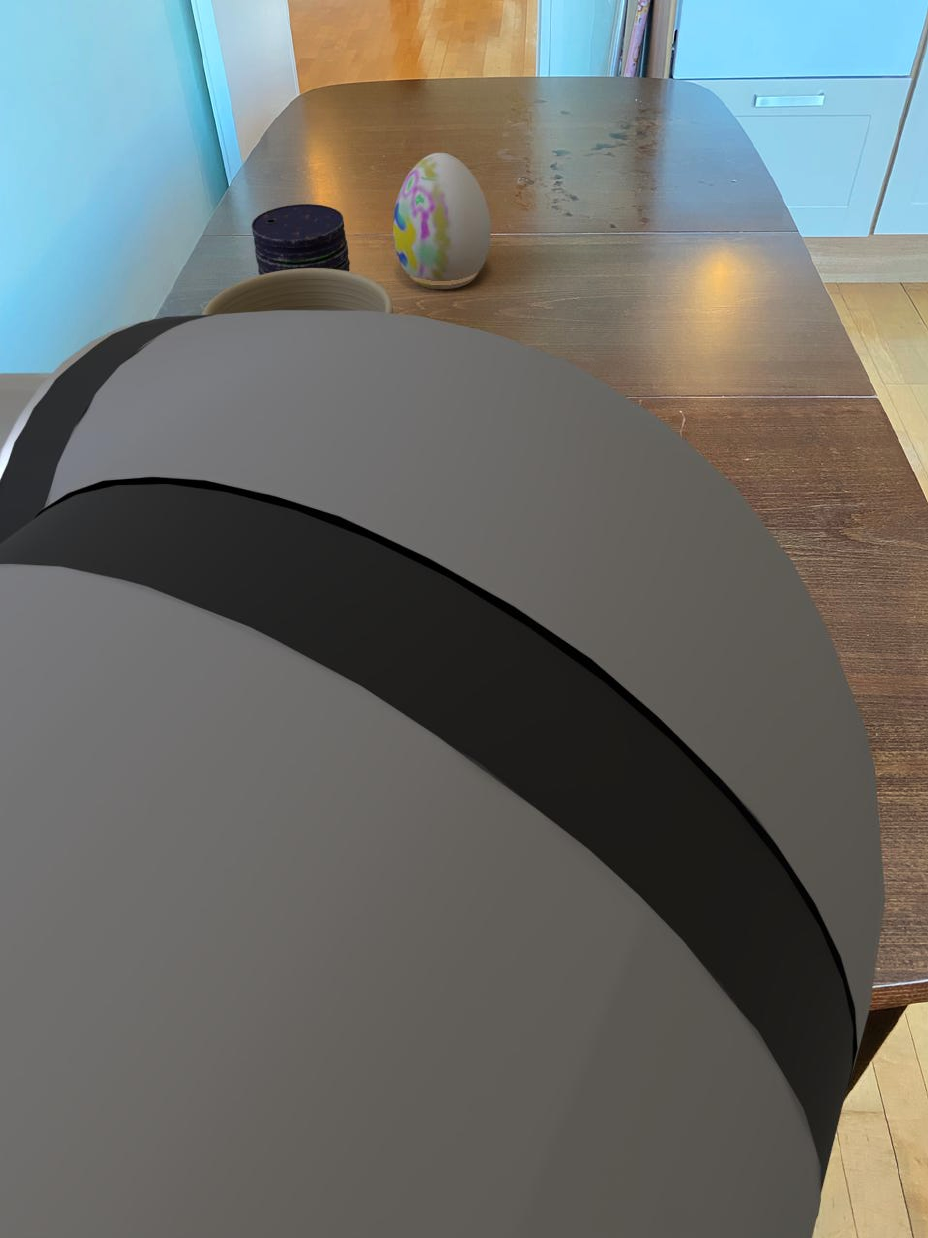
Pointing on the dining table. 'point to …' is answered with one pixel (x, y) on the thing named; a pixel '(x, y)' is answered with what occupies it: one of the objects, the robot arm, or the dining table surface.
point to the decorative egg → (441, 222)
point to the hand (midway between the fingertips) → (306, 614)
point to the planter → (302, 293)
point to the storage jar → (300, 239)
